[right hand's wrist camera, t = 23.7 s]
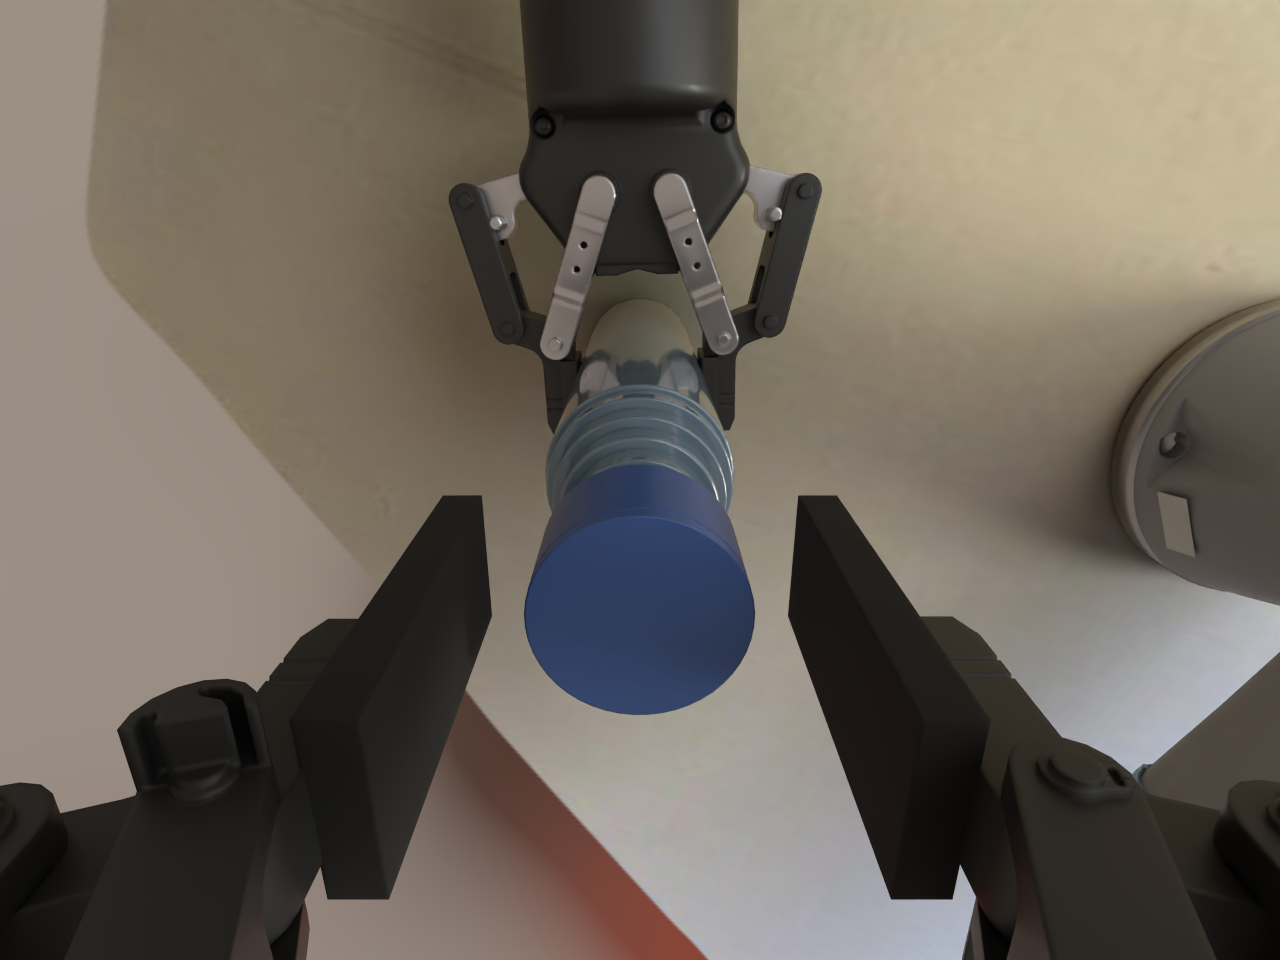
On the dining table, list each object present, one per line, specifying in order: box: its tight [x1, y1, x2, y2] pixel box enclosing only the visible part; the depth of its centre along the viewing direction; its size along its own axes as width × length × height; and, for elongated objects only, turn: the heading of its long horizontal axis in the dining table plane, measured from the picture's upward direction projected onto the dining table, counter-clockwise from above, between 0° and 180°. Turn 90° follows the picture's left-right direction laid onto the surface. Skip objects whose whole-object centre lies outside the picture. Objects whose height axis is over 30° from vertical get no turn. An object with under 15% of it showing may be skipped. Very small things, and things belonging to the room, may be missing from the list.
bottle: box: [546, 299, 734, 513], centre depth 24 cm, size 5×5×24 cm
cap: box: [524, 465, 755, 715], centre depth 13 cm, size 4×4×2 cm
